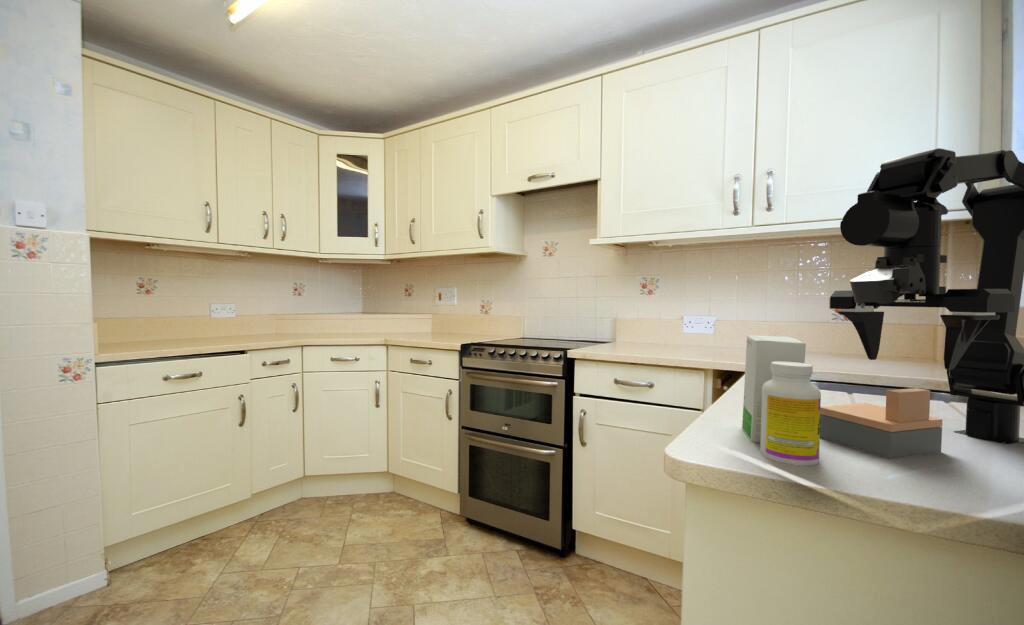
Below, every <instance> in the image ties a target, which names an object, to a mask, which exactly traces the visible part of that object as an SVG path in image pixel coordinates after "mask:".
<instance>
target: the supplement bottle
mask: <svg viewBox="0 0 1024 625" xmlns="http://www.w3.org/2000/svg"><path fill="white" fill-rule="evenodd" d="M813 369H814V367H813V365H812V364H810V363H798V362H784V361H776V362H771V371H772V372H771V373H772V374H773V375H772V379H771V380H769V381H767V382H765V383H764V385H763V386H762V410H761V442H759V443H760V444H759V446H760V450H759V452H760V454H761V455H762V456H763V457H765V458H767V459H770V460H772V461H776V462H779V463H782V464H787V465H788V464H789V465H795V466H796V465H797V466H814V465H817V464H818V463H819V461H820V443H821V441H820V440H821V439H820V407H821V398H822V393H821V390H820V389H819V387H818V386H817V385H815V384H813V383H812V382H811V378H812V376H813V372H814V371H813Z"/></svg>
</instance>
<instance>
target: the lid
mask: <svg viewBox="0 0 1024 625" xmlns="http://www.w3.org/2000/svg"><path fill="white" fill-rule="evenodd" d="M885 392H886V393H885V406H882V405H877V404H874V403H873V404H872V403H868V402H865V403H863V402H862V403H853V404H852V403H851V404H839V405H827V406H825V405H824V406H820V414H823V415H826V416H830V417H834V418H838V419H842V420H846V421H850V422H854V423H857V424H861V425H865V426H869V427H873V428H877V429H881V430H885V431H888V432H897V431H906V430H915V429H924V428H933V427H942V428H943V419H942V418H938V417H933V416H930V407H931V405H930V404H931V390H929V389H925V388H924V389H923V388H917V387H914V388H901V389H886V390H885Z"/></svg>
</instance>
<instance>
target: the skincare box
mask: <svg viewBox="0 0 1024 625" xmlns="http://www.w3.org/2000/svg"><path fill="white" fill-rule="evenodd" d="M806 347H807V345H806V343H805V342H802V341H800V340H799V339H797V338H793V337H790V336H783V335H782V336H779V335H778V336H775V335H757V334H756V335H754V334H752V335H751V334H748V335H746V348H745V351H746V352H745V366H744V367H745V368H744V385H743V386H744V387H743V388H744V389H743V407H742V420H741V421H742V424H741V425H742V426H741V428H742V430H743V432H744V433H745V434H746V436H747V437H748V438H749V440H750V441H751V442H753V443H760V442H761V410H762V386H763V385H764V383H765V382H767V381H769V380H771V379H772V375H773V374H772V373H771V372H772V371H771V362H776V361H784V362H798V363H805V362H806ZM805 364H806V363H805Z"/></svg>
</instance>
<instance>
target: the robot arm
mask: <svg viewBox="0 0 1024 625" xmlns="http://www.w3.org/2000/svg"><path fill="white" fill-rule="evenodd" d="M879 168H880V170H879V171H877V172H876V174H875V176H874V177H873V179H872V181H871V182H870V185H869V187H868V188H867V190H866V192H865V191H864V192H860V193H858V194H857V202H856V203H854V205H851V207H849V209H848V210H847V211H846V212H845V213H844V215H843V217H842V220H841V221H840V223H839V224H840V226H839V228H840V233H841V235H842V237H843V239H844V240H845V241H847V242H848V243H849V244H851V245H854V246H858V247H859V246H860V247H861V246H862V247H875V248H877V247H878V248H884V249H883V256H879V257H878V256H877V258H876V259H875V263H874V264H875V265H874V266H875V267H874V269H872V270H869V271H866V272H864V273H862V274H859V275H858V276H855V277H854V278H852V279H850V280H849V283H850V288H851V290H834V291H833V293H832V294H831V295H830V296H829V303H828V304H829V306H828V307H829V309H830V310H837V314H838V315H839V316H844V317H845V318H846V319H848V320H849V321H850V322H851V323H852V325H853V327H854V329H855V330H856V332H857V334H858V336H859V338H860V342H861V344H862V346H863V349H864V352H865V354H866V356H867V358H868V360H869V361H873V360H877V359H878V354H879V351H880V346H881V345H880V344H881V340H882V338H881V337H882V330H883V323H884V317H885V311H877V309H878V308H880V307H898V308H899V307H901V308H902V307H904V308H944V309H946V310H947V311H948V312H950V313H952V314H939V317H940V318H941V320H942V323H943V324H944V326H945V335H944V348H943V364H944V370H946V377H947V381H948V387H949V393H950V395H951V396H956V397H957V396H959V397H964V398H966V410H965V429H960V430H954V431H952V432H953V433H955V434H960V435H965V436H968V437H973V438H977V439H982V440H986V441H991V442H995V443H999V444H1004V445H1011V444H1017V443H1018V444H1020V443H1021V444H1024V437H1020V422H1021V407H1024V347H1023V345H1022V344H1021V342H1020V341H1019V339H1018V338H1017V328H1018V320H1019V314H1020V306H1021V298H1022V291H1023V284H1024V162H1022V161H1020V160H1019V159H1018V157H1017V155H1016V154H1015V152H1014V151H1013V150H1010V149H1009V150H1004V149H1001V150H997V151H996V150H995V151H991V152H987V153H977V154H968V155H959V156H956V152H955V151H954V150H950V149H945V148H935V149H930V150H926V151H921V152H919V153H914V154H910V155H907V156H906V155H905V156H901V157H898V158H894V159H890V160H889V159H888V160H886V161H883V162H882V163H881V164H880V166H879ZM998 179H999V180H1000V179H1005V180H1006V181H1007V182H1008V183H1010V184H1009V185H1008V184H1007V185H1003V186H995V187H991V188H989V187H988V188H984V189H982V190H980V192H979V191H978V188H976V186H975V184H977V183H983V182H988V181H993V180H998ZM959 184H965V186H966V190H965V192H964V195H963V198H962V200H961V203H962V205H963V206H964V207H965V209H966V210H967V212H968V213H969V215H970V216H971V225H972V226H971V227H973V229H975V231H976V233H977V234H978V235H979V236H980V238H981V240H982V241H983V242H982V249H981V250H982V251H981V256H980V262H979V270H978V276H977V284H976V288H948V289H947V286H940V279H941V278H940V274H941V270H940V269H941V264H948V263H947V262H948V255H946V254H941V246H942V245H941V243H942V242H941V241H942V240H941V238H942V237H941V236H942V216H945V215H948V213H949V210H948V208H947V207H946V205H944V204H942V203H940V202H939V200H938V199H937V198H938V197H939V196H940V195H941V194H944V193H947V192H948V191H952V189H955V188H957V186H958V185H959ZM917 295H918V297H925V298H923V299H921V298H920V299H919V298H918V299H917ZM901 297H903V299H900V298H901ZM838 310H839V311H838ZM1015 395H1016V396H1015Z"/></svg>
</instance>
